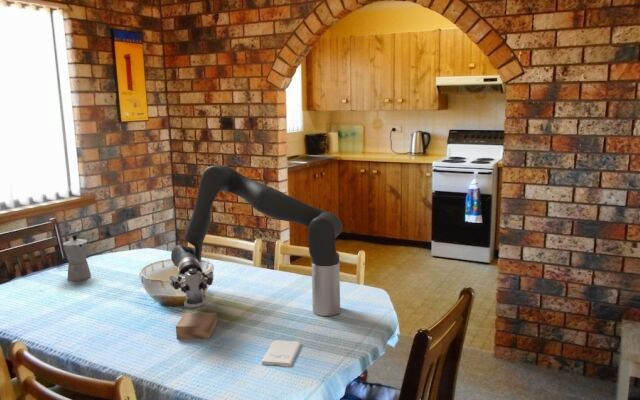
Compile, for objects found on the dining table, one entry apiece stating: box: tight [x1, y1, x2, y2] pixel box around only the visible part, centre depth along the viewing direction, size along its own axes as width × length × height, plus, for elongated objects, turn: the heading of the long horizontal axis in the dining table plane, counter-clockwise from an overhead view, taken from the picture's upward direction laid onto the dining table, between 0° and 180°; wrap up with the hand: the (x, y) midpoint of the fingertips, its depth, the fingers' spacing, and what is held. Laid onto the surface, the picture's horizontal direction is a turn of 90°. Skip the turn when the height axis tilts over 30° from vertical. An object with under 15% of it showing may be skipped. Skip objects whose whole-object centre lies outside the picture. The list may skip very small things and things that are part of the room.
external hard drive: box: [261, 339, 302, 367], centre depth 149 cm, size 2×8×12 cm
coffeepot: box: [62, 234, 92, 282], centre depth 215 cm, size 15×9×18 cm, turn 44°
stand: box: [175, 312, 218, 340], centre depth 164 cm, size 10×10×4 cm
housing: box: [183, 268, 207, 309], centre depth 162 cm, size 6×6×11 cm
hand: (194, 288), depth 159 cm, fingers closed on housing, 5 cm apart
